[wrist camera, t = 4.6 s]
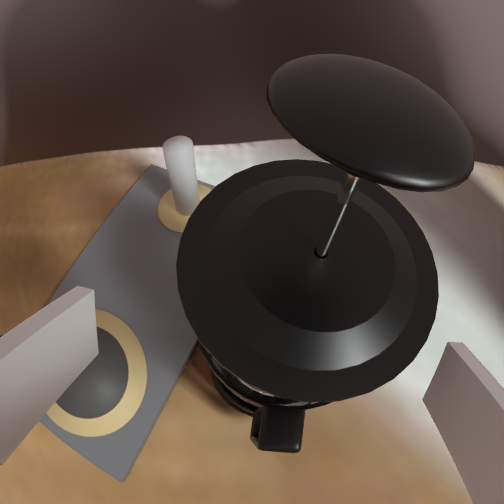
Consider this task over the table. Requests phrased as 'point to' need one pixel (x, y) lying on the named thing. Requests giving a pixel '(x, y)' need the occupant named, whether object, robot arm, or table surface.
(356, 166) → the french press
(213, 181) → the table surface
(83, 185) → the table surface
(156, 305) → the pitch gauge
